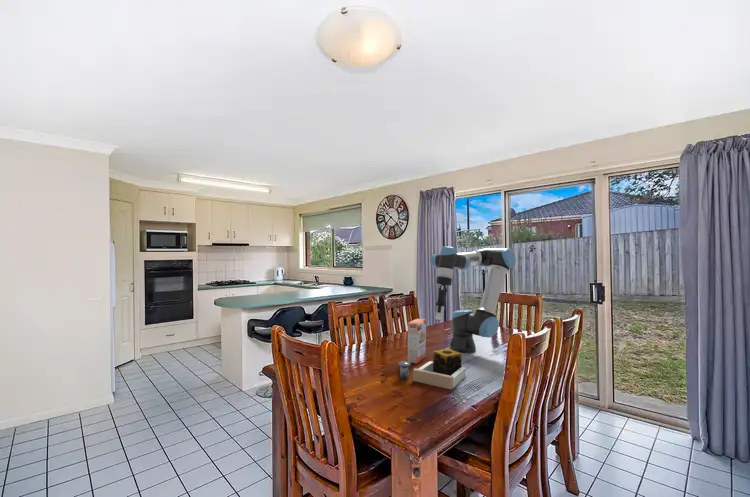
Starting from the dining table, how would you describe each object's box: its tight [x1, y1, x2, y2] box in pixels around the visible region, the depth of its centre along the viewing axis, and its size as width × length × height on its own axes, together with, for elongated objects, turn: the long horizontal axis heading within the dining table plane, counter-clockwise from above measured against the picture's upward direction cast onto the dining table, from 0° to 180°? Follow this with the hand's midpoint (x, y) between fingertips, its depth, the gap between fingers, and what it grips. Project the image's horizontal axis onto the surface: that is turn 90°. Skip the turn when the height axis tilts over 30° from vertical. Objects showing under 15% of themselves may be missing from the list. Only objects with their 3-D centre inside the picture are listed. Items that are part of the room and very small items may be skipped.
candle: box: [432, 348, 463, 376], centre depth 166 cm, size 10×10×10 cm
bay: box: [412, 360, 466, 390], centre depth 159 cm, size 18×18×5 cm
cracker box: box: [407, 318, 427, 364], centre depth 186 cm, size 14×6×21 cm, turn 154°
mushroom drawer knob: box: [398, 360, 412, 380], centre depth 160 cm, size 6×6×7 cm
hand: (439, 319), depth 173 cm, fingers open, 13 cm apart
